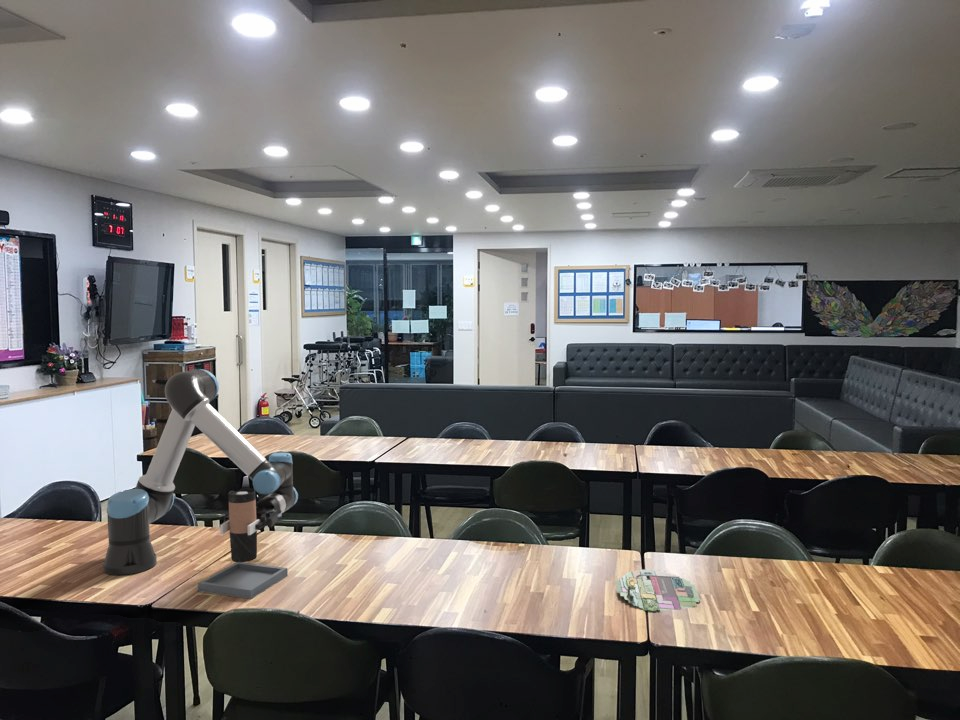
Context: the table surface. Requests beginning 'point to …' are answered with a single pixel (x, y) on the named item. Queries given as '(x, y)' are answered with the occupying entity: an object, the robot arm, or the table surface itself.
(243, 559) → the travel mug
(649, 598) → the city model
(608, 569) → the table surface
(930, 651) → the table surface
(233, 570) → the slate tray
